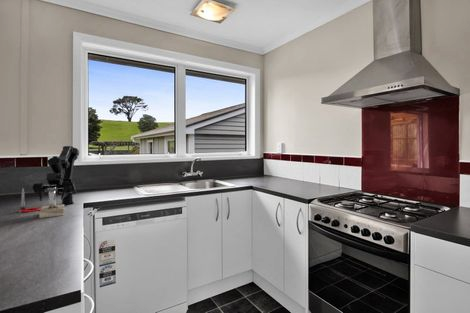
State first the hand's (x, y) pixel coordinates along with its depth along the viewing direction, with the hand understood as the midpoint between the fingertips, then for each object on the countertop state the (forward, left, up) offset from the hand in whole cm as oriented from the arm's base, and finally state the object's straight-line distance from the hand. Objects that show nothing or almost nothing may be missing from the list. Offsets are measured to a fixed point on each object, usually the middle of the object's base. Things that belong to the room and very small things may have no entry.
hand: (51, 199), depth 133 cm
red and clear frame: (-18, -11, -8) cm, 23 cm away
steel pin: (-1, 0, -8) cm, 8 cm away
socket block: (-1, 0, -8) cm, 8 cm away
